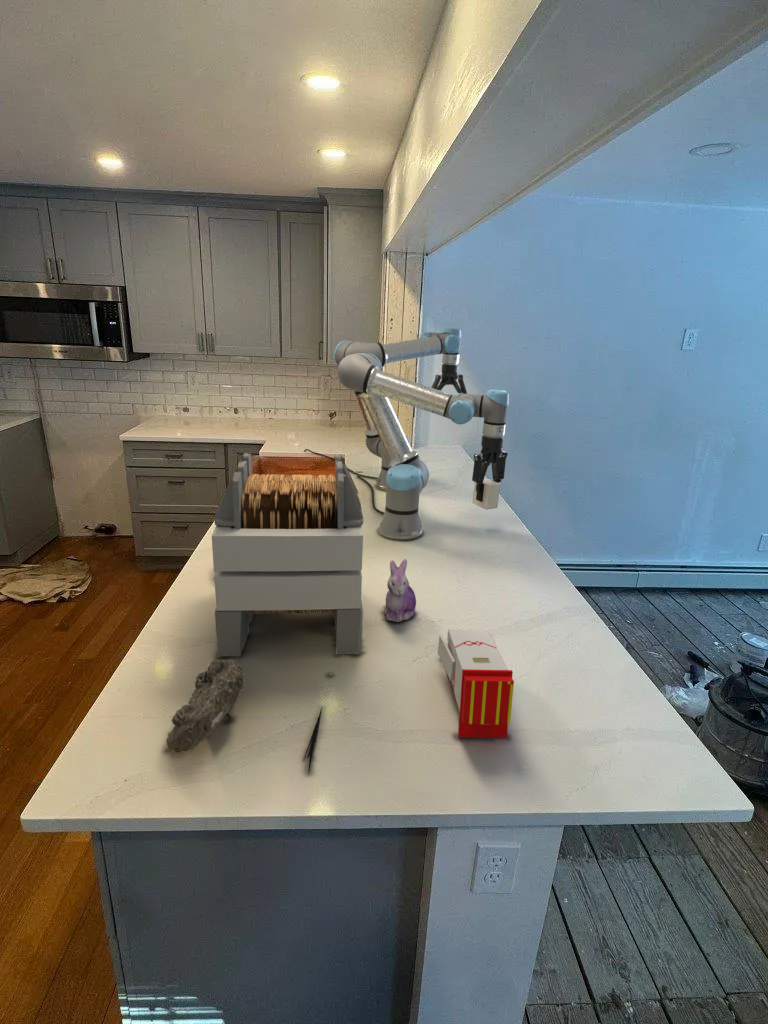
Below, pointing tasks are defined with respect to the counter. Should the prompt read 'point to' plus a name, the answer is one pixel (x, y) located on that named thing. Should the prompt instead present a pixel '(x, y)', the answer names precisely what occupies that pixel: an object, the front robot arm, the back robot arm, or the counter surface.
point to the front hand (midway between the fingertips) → (485, 499)
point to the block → (488, 494)
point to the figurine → (399, 594)
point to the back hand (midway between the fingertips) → (446, 410)
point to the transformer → (288, 552)
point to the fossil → (206, 705)
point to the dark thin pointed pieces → (313, 740)
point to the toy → (478, 682)
